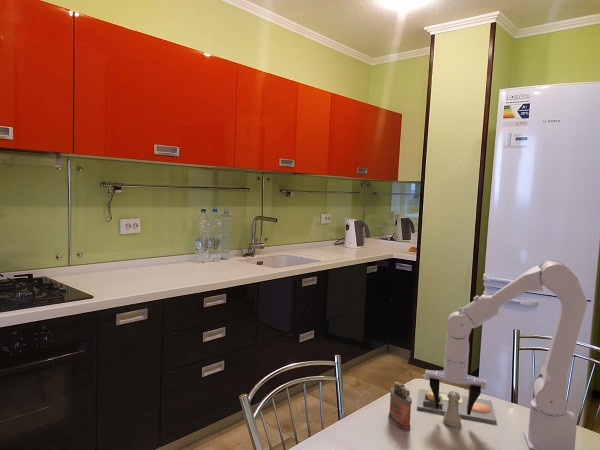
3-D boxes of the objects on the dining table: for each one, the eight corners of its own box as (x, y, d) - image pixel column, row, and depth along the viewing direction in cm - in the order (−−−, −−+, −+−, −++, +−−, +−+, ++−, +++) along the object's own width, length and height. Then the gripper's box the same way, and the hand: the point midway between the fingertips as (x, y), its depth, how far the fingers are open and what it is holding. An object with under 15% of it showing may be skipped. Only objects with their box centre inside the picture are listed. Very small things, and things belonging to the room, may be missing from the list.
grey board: (491, 403, 125) (491, 396, 125) (496, 423, 114) (496, 416, 114) (419, 391, 131) (419, 384, 131) (416, 409, 120) (417, 402, 120)
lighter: (385, 415, 116) (387, 378, 115) (396, 414, 117) (399, 377, 116) (401, 431, 108) (403, 392, 108) (413, 429, 109) (415, 391, 109)
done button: (438, 397, 124) (439, 392, 123) (438, 402, 120) (439, 397, 120) (427, 395, 125) (427, 390, 124) (426, 400, 121) (427, 395, 121)
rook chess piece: (462, 428, 111) (464, 398, 110) (444, 426, 112) (446, 395, 111) (459, 420, 115) (461, 390, 115) (441, 417, 116) (443, 388, 116)
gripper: (485, 358, 114) (481, 408, 115) (427, 349, 118) (424, 398, 119) (488, 368, 107) (484, 421, 108) (426, 358, 112) (423, 410, 113)
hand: (452, 410), depth 113 cm, fingers open, 7 cm apart
